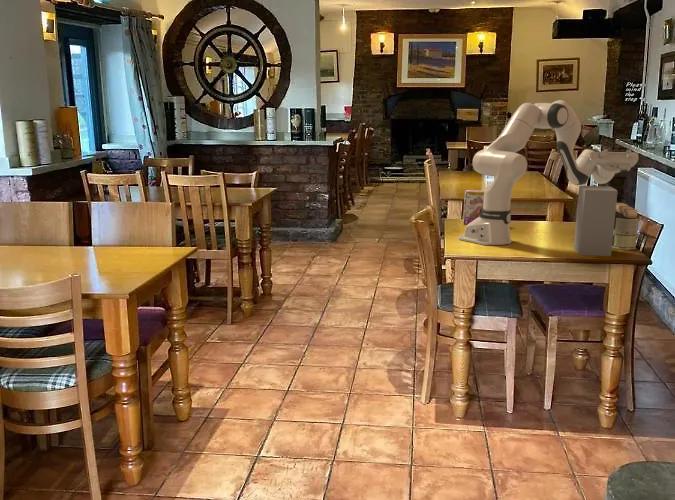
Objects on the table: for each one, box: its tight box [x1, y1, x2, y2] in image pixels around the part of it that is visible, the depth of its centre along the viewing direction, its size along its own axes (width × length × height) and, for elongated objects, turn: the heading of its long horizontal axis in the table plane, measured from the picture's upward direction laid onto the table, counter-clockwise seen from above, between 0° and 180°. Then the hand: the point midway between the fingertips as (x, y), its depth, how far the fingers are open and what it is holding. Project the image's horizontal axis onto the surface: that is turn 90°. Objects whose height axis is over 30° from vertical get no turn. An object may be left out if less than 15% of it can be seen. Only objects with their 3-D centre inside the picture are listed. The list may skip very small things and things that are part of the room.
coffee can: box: [612, 211, 640, 251], centre depth 278 cm, size 10×10×14 cm
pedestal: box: [573, 185, 618, 257], centre depth 268 cm, size 12×12×26 cm
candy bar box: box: [462, 189, 485, 226], centre depth 325 cm, size 11×5×16 cm, turn 84°
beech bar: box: [616, 202, 638, 218], centre depth 277 cm, size 19×4×3 cm, turn 173°
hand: (617, 150), depth 290 cm, fingers open, 8 cm apart
